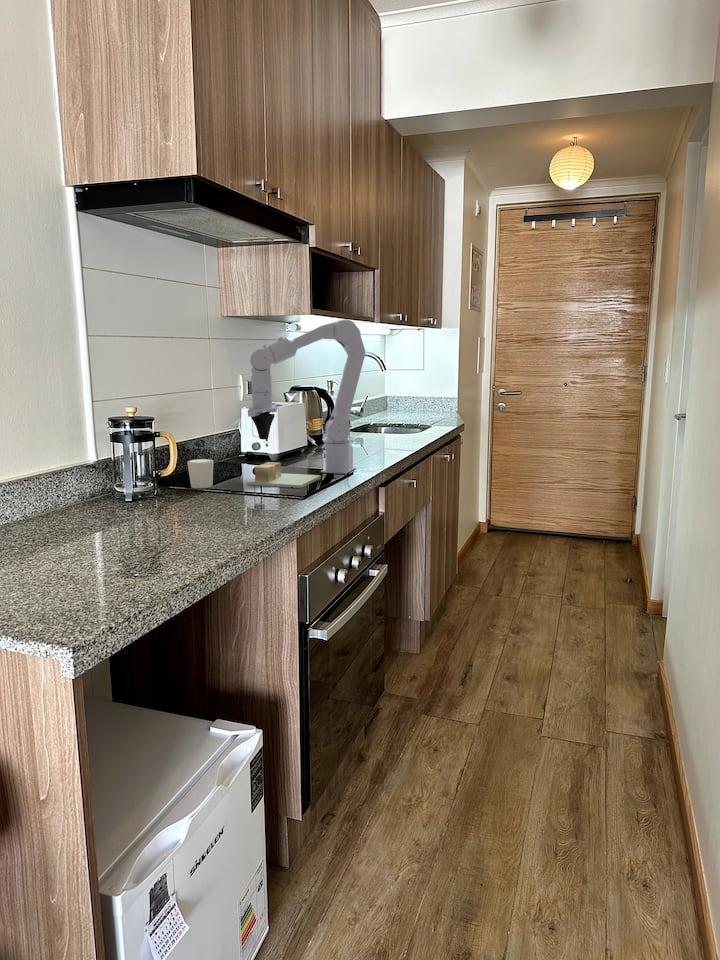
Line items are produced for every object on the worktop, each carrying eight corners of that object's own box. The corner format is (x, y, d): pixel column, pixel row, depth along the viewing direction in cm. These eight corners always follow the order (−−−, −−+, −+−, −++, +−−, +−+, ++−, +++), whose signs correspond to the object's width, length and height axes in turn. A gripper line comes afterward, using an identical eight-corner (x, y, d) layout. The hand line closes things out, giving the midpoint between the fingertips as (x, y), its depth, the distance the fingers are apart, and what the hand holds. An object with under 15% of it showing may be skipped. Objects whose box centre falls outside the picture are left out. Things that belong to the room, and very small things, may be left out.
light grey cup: (184, 488, 179) (182, 462, 178) (196, 483, 186) (194, 458, 185) (207, 489, 178) (206, 463, 176) (219, 484, 184) (217, 458, 183)
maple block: (268, 462, 190) (254, 466, 183) (280, 462, 189) (267, 467, 181) (268, 476, 191) (255, 481, 183) (281, 476, 190) (268, 482, 182)
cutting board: (269, 475, 196) (269, 472, 196) (320, 478, 191) (320, 475, 191) (247, 484, 183) (246, 481, 183) (301, 488, 178) (301, 485, 178)
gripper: (261, 390, 201) (262, 435, 204) (237, 393, 187) (239, 442, 190) (282, 390, 199) (284, 436, 201) (260, 393, 185) (262, 442, 188)
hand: (263, 439), depth 196 cm, fingers closed
